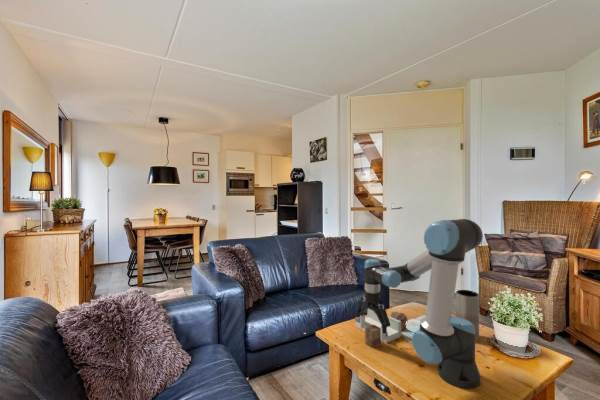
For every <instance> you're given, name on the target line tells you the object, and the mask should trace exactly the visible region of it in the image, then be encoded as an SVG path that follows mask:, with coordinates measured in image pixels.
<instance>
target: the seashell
mask: <svg viewBox="0 0 600 400" xmlns="http://www.w3.org/2000/svg"><path fill="white" fill-rule="evenodd" d="M390 317H392V318H395V319H397V320H399V321H401V330H402V331H403V330H404V329H405V328H406V326H405V323H406V321H407V322H408V316H407V315H406V314H405V313H402V312H398V311H391V314H390Z"/></svg>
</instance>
